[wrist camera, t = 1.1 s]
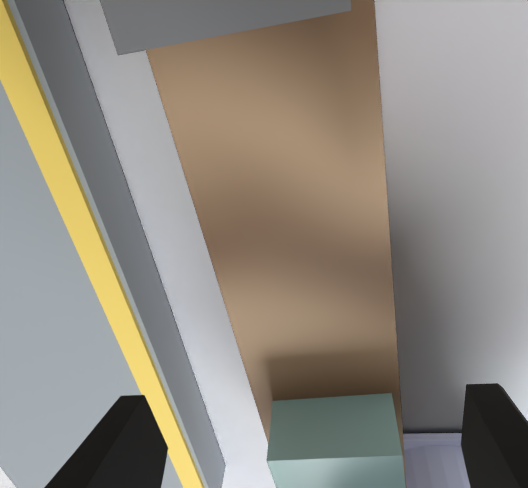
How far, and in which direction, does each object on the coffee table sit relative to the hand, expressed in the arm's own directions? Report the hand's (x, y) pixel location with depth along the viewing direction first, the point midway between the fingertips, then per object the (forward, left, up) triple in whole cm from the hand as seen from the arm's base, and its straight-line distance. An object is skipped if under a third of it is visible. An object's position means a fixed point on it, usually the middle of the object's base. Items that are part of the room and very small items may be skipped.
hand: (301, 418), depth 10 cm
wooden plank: (+1, 0, -9) cm, 9 cm away
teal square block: (-7, 0, -5) cm, 9 cm away
